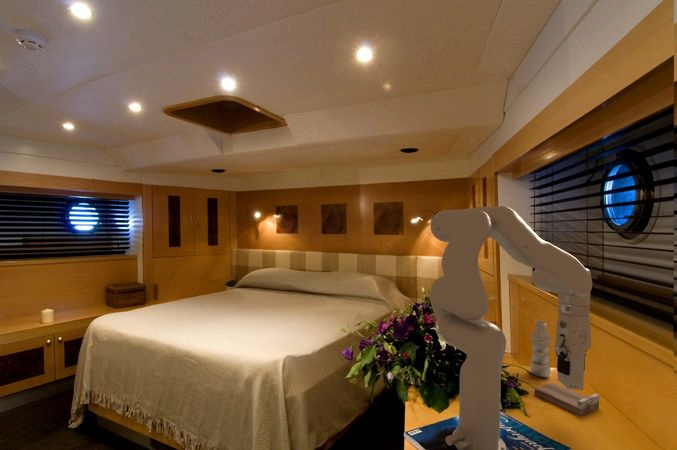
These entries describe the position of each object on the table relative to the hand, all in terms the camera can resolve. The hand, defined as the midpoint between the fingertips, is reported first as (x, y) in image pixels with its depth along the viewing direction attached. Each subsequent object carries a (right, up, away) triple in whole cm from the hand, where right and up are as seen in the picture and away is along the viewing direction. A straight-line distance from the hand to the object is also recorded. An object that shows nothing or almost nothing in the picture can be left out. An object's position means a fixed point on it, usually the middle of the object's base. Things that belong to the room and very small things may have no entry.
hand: (570, 370), depth 97 cm
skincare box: (0, -4, 0) cm, 4 cm away
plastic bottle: (+9, -15, +29) cm, 34 cm away
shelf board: (+6, -14, +11) cm, 19 cm away
